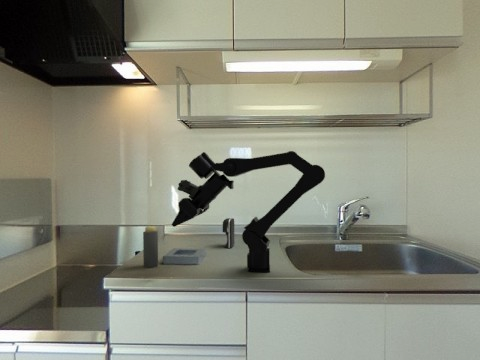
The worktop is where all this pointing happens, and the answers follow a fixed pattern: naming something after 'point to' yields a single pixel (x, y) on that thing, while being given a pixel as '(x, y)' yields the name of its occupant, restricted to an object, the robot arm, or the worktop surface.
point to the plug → (150, 247)
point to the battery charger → (229, 232)
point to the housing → (184, 256)
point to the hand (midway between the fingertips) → (177, 223)
